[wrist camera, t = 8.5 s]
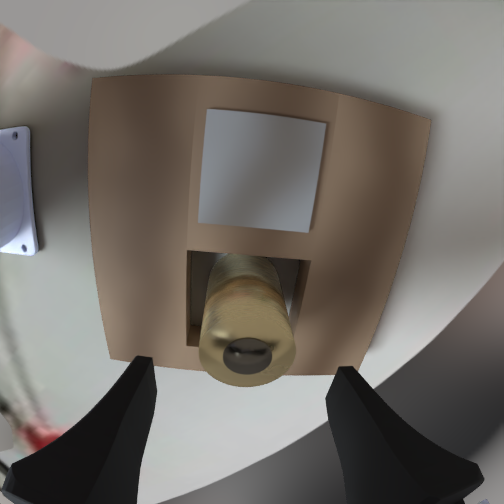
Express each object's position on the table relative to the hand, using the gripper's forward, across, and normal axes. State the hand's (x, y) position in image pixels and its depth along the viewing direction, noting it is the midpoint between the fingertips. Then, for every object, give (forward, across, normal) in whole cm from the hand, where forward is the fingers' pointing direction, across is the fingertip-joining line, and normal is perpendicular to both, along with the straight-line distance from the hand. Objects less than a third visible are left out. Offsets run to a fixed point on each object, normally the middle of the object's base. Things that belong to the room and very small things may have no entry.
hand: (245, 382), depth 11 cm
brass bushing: (+7, 0, 0) cm, 7 cm away
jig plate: (+7, 0, -3) cm, 8 cm away
